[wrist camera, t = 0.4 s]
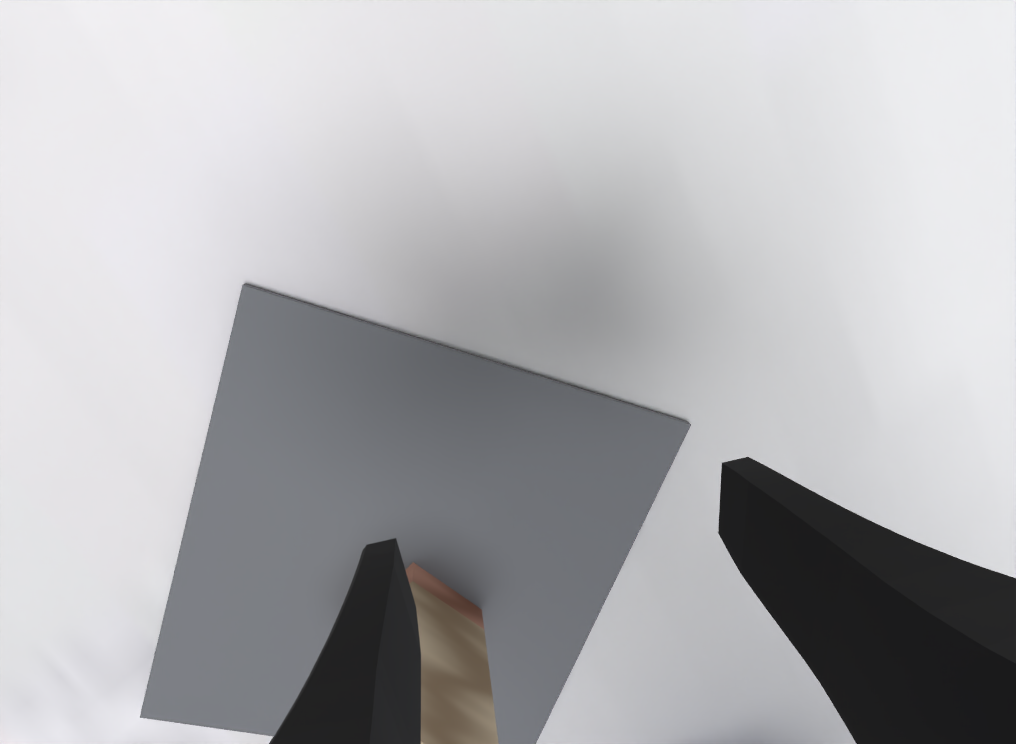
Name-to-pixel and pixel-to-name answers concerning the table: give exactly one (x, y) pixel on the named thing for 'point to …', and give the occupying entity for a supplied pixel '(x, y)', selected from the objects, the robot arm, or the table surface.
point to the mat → (394, 510)
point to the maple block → (452, 665)
